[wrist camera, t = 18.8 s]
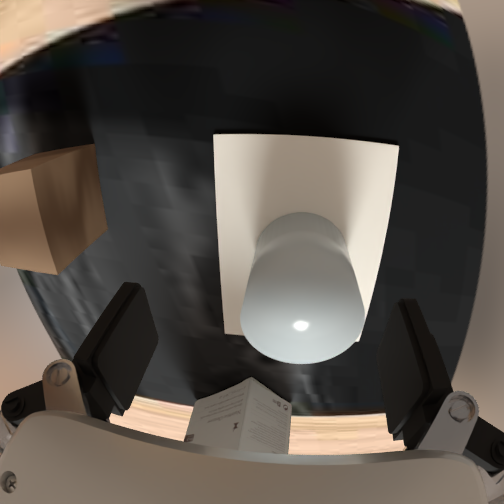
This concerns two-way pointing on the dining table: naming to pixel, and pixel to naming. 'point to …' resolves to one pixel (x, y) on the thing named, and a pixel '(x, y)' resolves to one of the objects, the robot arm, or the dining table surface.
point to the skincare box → (242, 420)
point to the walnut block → (50, 209)
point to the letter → (299, 201)
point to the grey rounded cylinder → (302, 292)
